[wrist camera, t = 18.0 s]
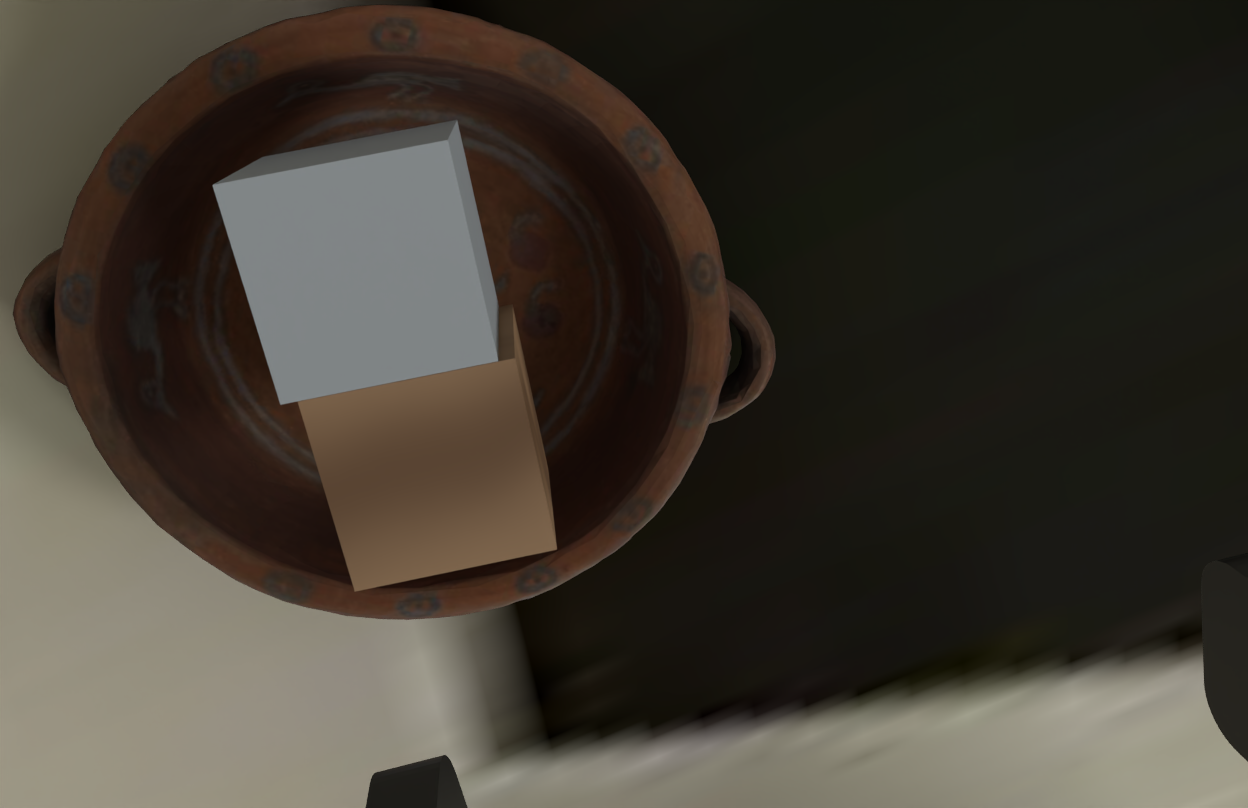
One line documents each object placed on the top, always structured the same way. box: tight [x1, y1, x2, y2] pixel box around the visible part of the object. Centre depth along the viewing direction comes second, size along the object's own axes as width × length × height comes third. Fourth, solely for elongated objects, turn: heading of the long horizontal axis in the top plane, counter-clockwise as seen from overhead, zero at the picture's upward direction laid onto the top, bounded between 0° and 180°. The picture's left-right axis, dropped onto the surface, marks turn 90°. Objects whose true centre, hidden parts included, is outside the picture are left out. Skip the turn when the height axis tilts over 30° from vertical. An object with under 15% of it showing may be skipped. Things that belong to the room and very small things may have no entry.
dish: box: [13, 5, 776, 620], centre depth 31 cm, size 18×22×5 cm
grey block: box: [213, 120, 499, 405], centre depth 26 cm, size 5×5×5 cm
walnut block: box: [298, 304, 557, 592], centre depth 27 cm, size 5×5×5 cm
